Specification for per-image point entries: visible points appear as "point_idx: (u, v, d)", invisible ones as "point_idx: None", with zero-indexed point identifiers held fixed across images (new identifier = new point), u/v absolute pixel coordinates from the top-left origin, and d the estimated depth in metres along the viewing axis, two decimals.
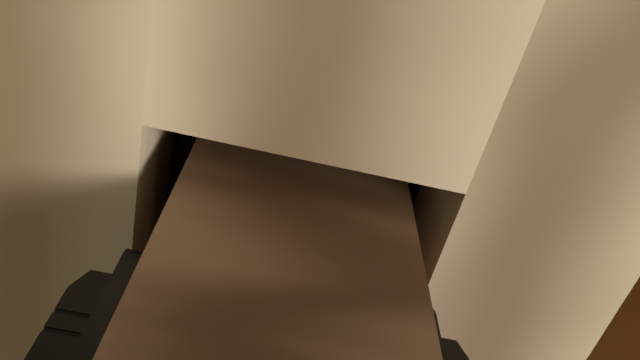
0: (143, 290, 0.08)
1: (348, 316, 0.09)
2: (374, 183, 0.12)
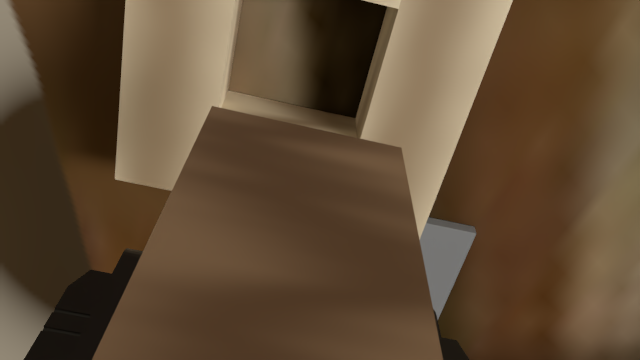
0: (144, 288, 0.08)
1: (348, 315, 0.09)
2: (374, 182, 0.12)
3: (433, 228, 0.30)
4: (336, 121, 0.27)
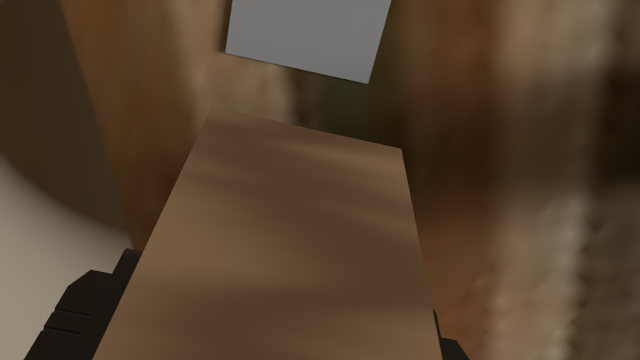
0: (143, 290, 0.08)
1: (347, 317, 0.09)
2: (374, 183, 0.12)
3: None
4: None
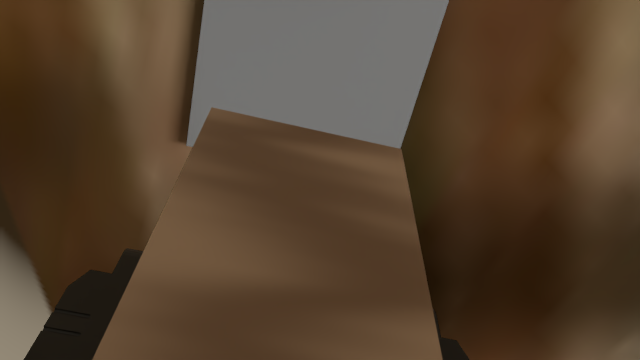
0: (143, 291, 0.08)
1: (348, 316, 0.09)
2: (374, 183, 0.12)
3: None
4: None
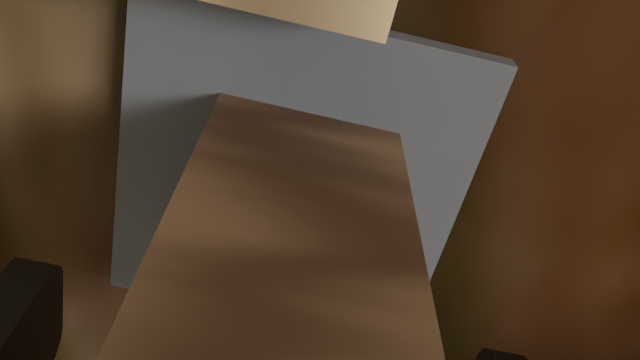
0: (162, 253, 0.09)
1: (350, 279, 0.09)
2: (375, 164, 0.13)
3: (424, 55, 0.14)
4: None
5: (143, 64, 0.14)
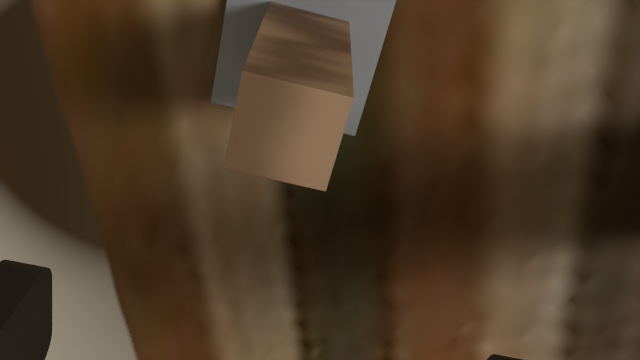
0: (261, 36, 0.27)
1: (323, 49, 0.28)
2: (336, 28, 0.31)
3: None
4: None
5: None
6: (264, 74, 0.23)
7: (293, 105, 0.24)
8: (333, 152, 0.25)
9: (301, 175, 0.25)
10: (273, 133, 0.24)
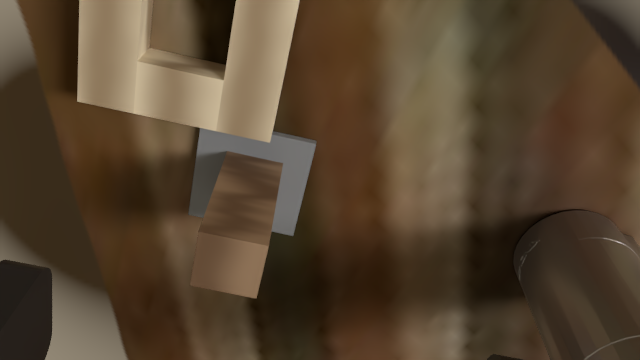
0: (215, 193, 0.41)
1: (257, 199, 0.42)
2: (271, 173, 0.45)
3: (287, 140, 0.46)
4: (216, 66, 0.43)
5: (204, 142, 0.46)
6: (212, 232, 0.37)
7: (231, 250, 0.38)
8: (259, 276, 0.39)
9: (239, 289, 0.39)
10: (220, 265, 0.39)
